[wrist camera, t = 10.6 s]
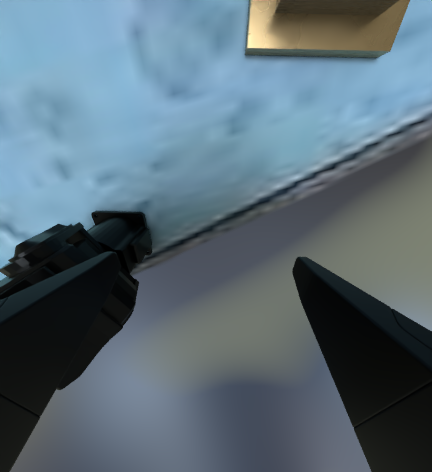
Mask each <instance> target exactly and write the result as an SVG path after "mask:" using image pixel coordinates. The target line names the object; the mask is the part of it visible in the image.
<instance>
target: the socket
mask: <svg viewBox="0 0 432 472" xmlns="http://www.w3.org/2000/svg"><path fill="white" fill-rule="evenodd" d="M409 2H410V0H249V11H248V24H247V37H246V50H245V55H281V56H324V57H366V58H378V57H380V56H382V55H384V54H386V53H388V52H390V50H391V48H392V45H393V43H394V40H395V38H396V35H397V32H398V30H399V27H400V25H401V22H402V20H403V17H404V15H405V12H406V9H407V7H408V4H409Z"/></svg>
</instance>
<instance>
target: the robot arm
mask: <svg viewBox="0 0 432 472" xmlns="http://www.w3.org/2000/svg"><path fill="white" fill-rule="evenodd" d="M91 215H92V218H93V220H94V223H95V225H94V226H93V227H91V228H90V229H89V230H87V231H86V230H85V229H84V228H83V227H84V226H83V225H82V224H81V223H80V222H79V223H77V224H75V225H72V224H70V225H69V226H65V225H61V224H57V225H56V226H54V227H52V228H50V229H48V230H46V231H44V232H42V233H40V234H38V235H36V236H34V237H32V238H30V239H28V240H26V241H24V242H22V243H20V244H19V245H17V246H16V248H15V254H14V257H13V258H11V259H9V260H8V261H10V263H8V264H7V265H5V266H4V267H2V268H1V269H0V272H1V273H3V274H4V275H6V276H7V277H6V278H4V279H2V280H1V281H0V472H9V471H10V470H11V468H12V467H13V465H14V463H15V461H16V460H17V457H18V456H19V454H20V452H21V451H22V449H23V447H24V445H25V444H26V442H27V440H28V438H29V436H30V435H31V433H32V431H33V429H34V428H35V426H36V424H37V422H38V420H39V419H40V416H41V415H42V413H43V411H44V409H45V408H46V406H47V404H48V402H49V401H50V399H51V397H52V395H53V394H54V392H55V390H56V389H57V390H61V389H63V388H65V387H66V386H68V385H69V384H70V383H71V382H73V381H74V380H76V379H77V378H78V377H79V376H80V375H81V374H82V373H83V372H84V370H85V369H86V368H87V366H88V365H89V364H90V363H91V361H92V360H93V359H94V357H95V356H96V355H97V353H98V352H99V351H100V350H101V349H102V347H104V345H105V344H106V343H107V342H108V341H109V340H110V339H111V338H112V337H113V336H115V335H116V334H117V333H118V332H119V331H120V330H121V329H122V328H123V325H124V324H125V323H126V322H127V320H128V319H129V318H130V316H131V314H132V312H133V309H134V306H135V303H136V302H135V301H136V296H137V290H138V285H139V282H138V281H137V280H136V279H134V278H133V277H132V276H131V275H130V273H131V271H132V270H133V268H134V267H135V265H136V264H139V263H140V262H141V261H142V260H143V258H144V256H145V255H151V253H152V248H151V245H152V241H151V237H150V232H149V229H148V228H147V225H146V220H145V216H144V214H143V213H142V212H117V211H95V212H93V213H92V214H91ZM96 215H97V216H96ZM139 215H140V216H141V217H139ZM148 251H149V252H148ZM293 277H294V280H295V283H296V287H297V290H298V293H299V297H300V300H301V303H302V306H303V308H304V310H305V313H306V315H307V318H308V320H309V322H310V325H311V327H312V329H313V332H314V334H315V337H316V339H317V341H318V344H319V346H320V349H321V351H322V354H323V356H324V358H325V361H326V363H327V366H328V368H329V370H330V373H331V375H332V378H333V380H334V382H335V385H336V387H337V390H338V392H339V394H340V397H341V399H342V401H343V404H344V406H345V409H346V411H347V413H348V416H349V418H350V421H351V423H352V425H353V427H354V431H355V433H356V435H357V438H358V440H359V443H360V445H361V447H362V450H363V452H364V455H365V457H366V459H367V462H368V464H369V466H370V469H371V471H372V472H432V331H430V330H428V329H426V328H425V327H423V326H421V325H420V324H418V323H416V322H414V321H413V320H411V319H409V318H407V317H406V316H404V315H402V314H401V313H399V312H398V311H396V310H394V309H391V308H390V307H389V306H387V305H386V304H384V303H382V302H381V301H379V300H377V299H376V298H374V297H372V296H371V295H369V294H367V293H366V292H364V291H362V290H361V289H359V288H357V287H356V286H354V285H352V284H351V283H349V282H347V281H345V280H344V279H342V278H341V277H339V276H337V275H336V274H334V273H332V272H330V271H329V270H327V269H326V268H324V267H322V266H321V265H319V264H317V263H316V262H314V261H312V260H311V259H309V258H307V257H298V258H297V259H296V261H295V264H294V267H293Z"/></svg>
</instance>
